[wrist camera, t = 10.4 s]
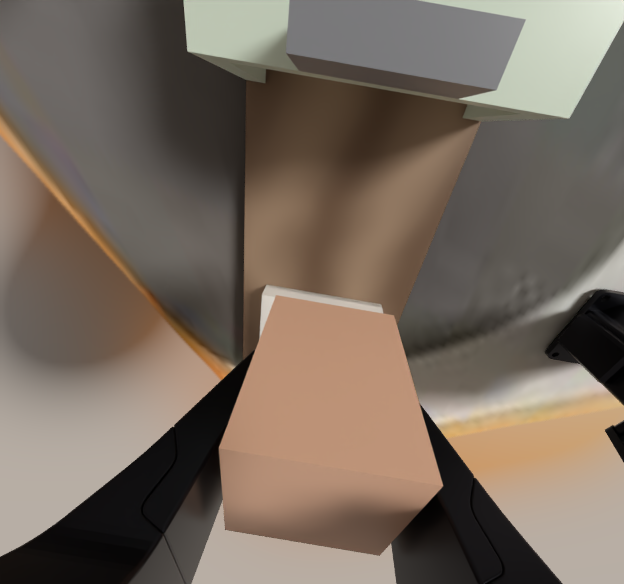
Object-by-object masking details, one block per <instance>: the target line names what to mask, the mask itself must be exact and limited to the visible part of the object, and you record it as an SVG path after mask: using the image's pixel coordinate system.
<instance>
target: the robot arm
mask: <svg viewBox="0 0 624 584" xmlns="http://www.w3.org/2000/svg"><path fill="white" fill-rule="evenodd" d="M602 297H603V298H602ZM255 350H256V349H255ZM255 350H253V351H252V352H251V353H250V354H249V355H248V356H247V357H246V358H245V359H244V360H243V361H242V362H240V363H239V364H238V365H237V366H236V367H235V368H234V369H233V370H232V371H231V372H230V373H229V374H228V375H227V376H226V377H225V378H224V379H222V380H221V381H220V382H219V383H218V384H217V385H216V386H215V387H214V388H213V389H212V390H211V391H210V392H209V393H208V394H207V395H206V396H205V397H203V398H202V399H201V400H200V401H199V402H198V403H197V404H196V405H195V406H194V407H193V408H192V409H191V410H190V411H189V412H188V413H187V414H185V416H183V417H182V418H181V419H180V420H179V421H178V422H177V423H176V424H175V425H174V427H175V428H174V427H172V428H170V430H169V431H167V433H165V434H164V435H163V436H162V437H161V438H160V439H159V440H158V441H157V442H156V443H155V444H153V445H152V446H151V447H150V448H149V449H148V450H147V451H146V452H144V453H143V454H142V455H141V456H140V457H139V458H137V459H136V460H135V461H134V462H132V463H131V464H130V465H129V466H128V467H126V468H125V469H124V470H123V471H121V472H120V473H119V474H118V475H116V476H115V477H114V478H113V479H112V480H110V481H109V482H108V483H106V484H105V485H104V486H103V487H102V488H100V489H99V490H98V491H96V492H95V493H94V494H93V495H91V496H90V497H89V498H88V499H86V500H85V501H84V502H83V503H81V504H80V505H79V506H77V507H76V508H75V509H74V510H72V511H71V512H70V513H69V514H68V515H66V516H65V517H64V518H62V519H61V520H60V521H59V522H57V523H56V524H55V525H53V526H52V527H50V528H49V529H47V530H46V531H45V532H43V533H42V534H40V535H38V536H37V537H35V538H34V539H32V540H30V541H29V542H27V543H25V544H24V545H22V546H20V547H18V548H16V549H15V550H13V551H11V552H9V553H7V554H5V555H3V556H1V557H0V584H191V583H192V580H193V577H194V575H195V572H196V569H197V567H198V564H199V561H200V559H201V556H202V553H203V551H204V548H205V545H206V542H207V540H208V537H209V535H210V532H211V529H212V527H213V524H214V521H215V519H216V516H217V513H218V510H219V508H220V505H221V503H222V500H223V496H222V483H221V470H220V457H219V446H220V444H221V441H222V438H223V436H224V433H225V430H226V428H227V425H228V422H229V420H230V417H231V414H232V412H233V409H234V406H235V404H236V401H237V398H238V396H239V393H240V390H241V387H242V385H243V382H244V379H245V377H246V374H247V371H248V369H249V366H250V363H251V361H252V358H253V355H254V353H255ZM545 354H546V355H547V356H548V357H549V358H550V359H555V360H560V361H566V362H572V363H578V364H581V365H582V366H583V367H584V368H585V369H586V370H587V371H588V372H589V373H590V374H591V375H592V376H593V377H594V378H595V379H596V380H597V381H598V382H600V383H601V384H602V385H603V386H604V387H605V388H606V389H607V390H608V391H609V392H610V393H611V394H612V395H614V396H615V397H616V398H617V399H618V400H619V401H620V402H621V403H622V404H623V405H624V293H623V292H617V291H612V290H599V291H597V292H596V293H595V294H594V295H593V296H592V297H591V298H590V299H589V301H588V302H587V303H586V304H585V305H584V306H583V308H582V309H581V310H580V311H579V312H578V313H577V315H576V316H575V317H574V318H573V319H572V320H571V322H570V323H569V324H568V325H567V326H566V327H565V329H564V330H563V331H562V332H561V333H560V334H559V336H558V337H557V338H556V339H555V340H554V341H553V343H552V344H551V345H550V346H549V347H548V348H547V350H546V351H545ZM419 404H420V403H419ZM420 407H421V411H422V414H423V418H424V421H425V425H426V428H427V432H428V435H429V438H430V442H431V445H432V449H433V452H434V456H435V459H436V463H437V466H438V470H439V473H440V477H441V480H442V483H443V487H442V488H441V489H440V490H439V491H438V492H437V493H436V495H435V496H434V497H433V498H432V499H431V500H430V501H429V502H428V503H427V504H426V505H425V507H424V508H423V509H422V510H421V511H420V512H419V513H418V514H417V515H416V516H415V517H414V518H413V520H412V521H411V522H410V523H409V524H408V525H407V526H406V527H405V528H404V529H403V530H402V532H401V533H400V534H399V535H398V536H397V537H396V538H395V539H394V540H393V541H392V542H391V545H392V552H393V560H394V568H395V576H396V583H397V584H562V583H561V581H560V580H559V579H558V578H557V577H556V576H555V574H554V573H553V572H552V571H551V570H550V569H549V567H548V566H547V565H546V564H545V563H544V562H543V560H542V559H541V558H540V557H539V556H538V554H537V553H536V552H535V551H534V550H533V549H532V547H531V546H530V545H529V544H528V543H527V542H526V541H525V539H524V538H523V537H522V536H521V534H520V533H519V532H518V531H517V530H516V528H515V527H514V526H513V525H512V524H511V522H510V521H509V520H508V519H507V518H506V516H505V515H504V514H503V513H502V512H501V510H500V509H499V508H498V506H497V505H496V504H495V502H494V501H493V500H492V499H491V497H490V496H489V495H488V493H487V492H486V491H485V489H484V488H483V487H482V485H481V484H480V483H479V482H478V480H477V479H476V478H474V476H473V474H472V472H471V471H470V470H469V468H468V467H467V466H466V464H465V463H464V462H463V460H462V459H461V458H460V456H459V455H458V454H457V452H456V451H455V450H454V448H453V447H452V446H451V445H450V443H449V442H448V440H447V439H446V438H445V436H444V435H443V434H442V432H441V431H440V430H439V428H438V427H437V426H436V424H435V423H434V422H433V420H432V419H431V418H430V416H429V415H428V414H427V412H426V411H425V410H424V408H423V407H422V406H421V404H420ZM605 432H606V433H607V435H608V437H609V438H610V440H611V442H612V443H613V445H614V447H615V448H616V450H617V452H618V453H619V455H620V457H621V459H622V460H623V462H624V421H622V422H620V423H619V424H617V425H616V426H613V425H612V426H610V427H609V428H607V429H605Z"/></svg>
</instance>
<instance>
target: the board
mask: <svg viewBox="0 0 624 584" xmlns="http://www.w3.org/2000/svg"><path fill="white" fill-rule="evenodd" d="M466 107H467V104H463V103H458V102H452V101H446V100H440V99H435V98H429V97H423V96H418V95H412V94H406V93H401V92H395V91H389V90H384V89H378V88H372V87H367V86H361V85H355V84H349V83H344V82H338V81H332V80H327V79H321V78H315V77H310V76H304V75H298V74H293V73H287V72H281V71H276V70H270V69H266V80H265V83H261V82H255V81H249V80H246V141H245V227H244V313H243V360H244V359H245V358H246V357H247V356H248V355H249V354H250V353H251V352H252V351H253V350H255V349H256V347H257V345H258V342H259V338H260V320H261V302H262V293H263V291H264V289H265V287H266V285H272V286H278V287H284V288H289V289H295V290H301V291H307V292H312V293H318V294H324V295H330V296H335V297H341V298H347V299H353V300H359V301H364V302H370V303H376V304H381V305H382V309H383V314H389V315H394V317H395V321H396V324H398V322H399V319H400V317H401V315H402V312H403V310H404V307H405V305H406V302H407V300H408V298H409V295H410V293H411V290H412V288H413V285H414V283H415V281H416V278H417V276H418V273H419V271H420V268H421V266H422V264H423V261H424V259H425V256H426V254H427V252H428V249H429V247H430V244H431V242H432V239H433V237H434V235H435V232H436V230H437V227H438V225H439V222H440V220H441V218H442V215H443V213H444V210H445V208H446V205H447V203H448V201H449V198H450V196H451V193H452V191H453V188H454V186H455V184H456V181H457V179H458V176H459V174H460V172H461V169H462V167H463V164H464V162H465V159H466V157H467V155H468V152H469V150H470V147H471V145H472V142H473V140H474V138H475V135H476V133H477V130H478V128H479V125H480V123H481V121H477V120H471V119H466V118H463V115H464V112H465V110H466Z"/></svg>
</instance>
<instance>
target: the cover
mask: <svg viewBox="0 0 624 584" xmlns="http://www.w3.org/2000/svg"><path fill="white" fill-rule="evenodd" d="M184 13H185V26H186V39H187V51H188V52H190V53H192V54H194V55H196V56H198V57H200V58H202V59H204V60H206V61H208V62H210V63H212V64H214V65H216V66H218V67H220V68H222V69H224V70H227V71H229V72H231V73H233V74H235V75H237V76H239V77H241V78H243V79H245V80H249V81H255V82H261V83H265V80H266V69H270V70H276V71H281V72H287V73H293V74H298V75H304V76H310V77H315V78H321V79H327V80H332V81H338V82H344V83H349V84H355V85H361V86H367V87H372V88H378V89H384V90H389V91H395V92H401V93H406V94H412V95H418V96H423V97H429V98H435V99H440V100H446V101H452V102H458V103H463V104H467V107H466V110H465V112H464V115H463V118H466V119H471V120H477V121H509V120H539V119H569V118H570V116H571V114H572V112H573V111H574V109H575V107H576V105H577V104H578V102H579V100H580V98H581V96H582V95H583V93H584V91H585V89H586V87H587V86H588V84H589V82H590V80H591V78H592V77H593V75H594V73H595V71H596V70H597V68H598V66H599V64H600V62H601V61H602V59H603V57H604V55H605V53H606V52H607V50H608V48H609V46H610V45H611V43H612V41H613V39H614V37H615V36H616V34H617V32H618V30H619V28H620V27H621V25H622V23H623V21H624V0H184Z"/></svg>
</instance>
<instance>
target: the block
mask: <svg viewBox="0 0 624 584" xmlns="http://www.w3.org/2000/svg"><path fill="white" fill-rule="evenodd" d="M219 457H220V470H221V483H222V496H223V508H224V521H225V530H229V531H235V532H242V533H247V534H253V535H259V536H265V537H271V538H277V539H283V540H289V541H295V542H301V543H307V544H313V545H319V546H325V547H331V548H338V549H343V550H350V551H355V552H361V553H367V554H373V555H379V556H380V554H381V553H382V552H383V551H384V550H385V549H386V548H387V547H388V546H389V545H390V543H391V542H392V541H393V540H394V539H395V538H396V537H397V536H398V535H399V534H400V533H401V532H402V530H403V529H404V528H405V527H406V526H407V525H408V524H409V523H410V522H411V521H412V520H413V518H414V517H415V516H416V515H417V514H418V513H419V512H420V511H421V510H422V509H423V508H424V507H425V505H426V504H427V503H428V502H429V501H430V500H431V499H432V498H433V497H434V496H435V495H436V493H437V492H438V491H439V490H440V489H441V488H442V487H443V483H442V480H441V477H440V473H439V470H438V466H437V463H436V459H435V456H434V452H433V449H432V445H431V442H430V438H429V435H428V432H427V428H426V425H425V421H424V418H423V414H422V411H421V407H420V404H419V400H418V397H417V393H416V390H415V386H414V383H413V380H412V376H411V373H410V369H409V366H408V362H407V359H406V355H405V352H404V348H403V345H402V341H401V338H400V335H399V331H398V328H397V324H396V321H395V317H394V315H389V314H383V313H377V312H371V311H366V310H360V309H354V308H348V307H342V306H336V305H331V304H325V303H319V302H313V301H307V300H302V299H296V298H290V297H284V296H278V295H276V296H275V299H274V302H273V305H272V307H271V310H270V313H269V315H268V318H267V321H266V323H265V326H264V329H263V331H262V334H261V337H260V339H259V342H258V345H257V347H256V350H255V353H254V355H253V358H252V361H251V363H250V366H249V369H248V371H247V374H246V377H245V379H244V382H243V385H242V387H241V390H240V393H239V396H238V398H237V401H236V404H235V406H234V409H233V412H232V414H231V417H230V420H229V422H228V425H227V428H226V430H225V433H224V436H223V438H222V441H221V444H220V446H219Z"/></svg>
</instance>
